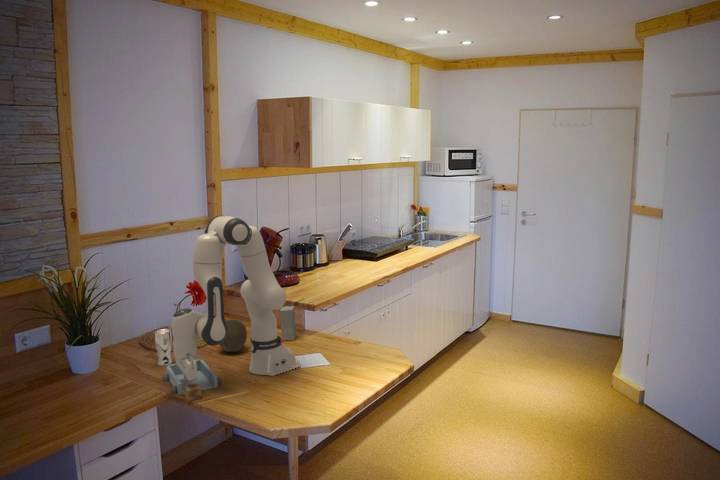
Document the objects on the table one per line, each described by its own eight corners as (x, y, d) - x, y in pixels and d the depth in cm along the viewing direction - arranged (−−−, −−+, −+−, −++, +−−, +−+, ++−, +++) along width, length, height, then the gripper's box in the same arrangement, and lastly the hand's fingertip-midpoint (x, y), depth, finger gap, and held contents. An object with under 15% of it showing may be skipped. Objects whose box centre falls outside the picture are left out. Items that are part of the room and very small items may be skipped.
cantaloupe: (252, 352, 270) (251, 321, 267) (224, 358, 262) (222, 327, 260) (241, 343, 281) (239, 314, 279) (213, 349, 274) (211, 319, 271)
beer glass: (168, 366, 253) (165, 334, 250) (153, 365, 254) (151, 333, 252) (176, 360, 260) (174, 329, 257) (162, 359, 261) (160, 328, 259)
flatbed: (207, 370, 248) (206, 357, 247) (222, 389, 229) (222, 374, 228) (161, 380, 238) (160, 366, 237) (173, 400, 219) (172, 385, 218)
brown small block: (198, 394, 222) (197, 383, 221) (201, 399, 218) (201, 388, 217) (185, 397, 219) (184, 386, 219) (188, 402, 215) (187, 391, 214)
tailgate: (214, 388, 227) (220, 396, 220) (214, 391, 227) (220, 398, 220) (183, 395, 221) (188, 403, 214) (183, 398, 221) (188, 406, 214)
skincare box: (294, 340, 285) (293, 310, 283) (280, 340, 285) (279, 310, 283) (296, 335, 293) (295, 305, 291) (282, 335, 294) (281, 305, 291)
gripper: (200, 356, 218) (202, 391, 220) (186, 341, 235) (189, 373, 238) (183, 360, 215) (186, 394, 217) (171, 344, 232) (173, 376, 234)
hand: (187, 383), depth 227 cm, fingers closed
